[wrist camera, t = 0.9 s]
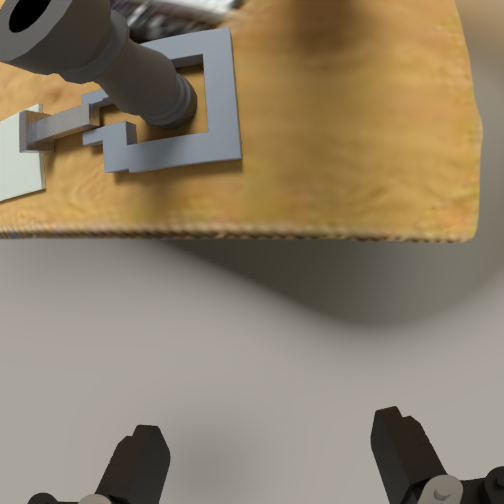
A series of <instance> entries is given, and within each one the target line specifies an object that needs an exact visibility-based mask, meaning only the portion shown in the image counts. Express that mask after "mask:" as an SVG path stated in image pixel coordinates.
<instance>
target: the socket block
mask: <svg viewBox="0 0 504 504" xmlns="http://www.w3.org/2000/svg"><path fill="white" fill-rule="evenodd" d="M139 45H142V46H145V47H148V48H150V49H153V50H156V51H158V52H161V53H162V54H164V55H165V56H166V57H168V58H169V59H170V60H171V61H172V63H173V66H174V68H180V67H185V66H191V65H197V64H204V78H205V92H206V106H207V119H208V131H209V132H205V133H197V134H190V135H183V136H177V137H171V138H165V139H159V140H153V141H148V142H142V143H137V138H136V125H135V124H132V123H130V122H127V121H123V122H119V123H115V124H111V125H107V126H103V127H102V128H98V129H94V130H91V131H87V132H84V133H83V145H86V146H97V145H101V144H103V154H104V167H105V173H117V172H122V171H128V170H129V173H141V172H147V171H153V170H159V169H166V168H173V167H180V166H187V165H195V164H203V163H212V162H221V161H230V160H240V159H242V148H241V137H240V125H239V114H238V103H237V92H236V80H235V69H234V58H233V46H232V37H231V32H230V28H221V29H214V30H207V31H200V32H194V33H188V34H183V35H178V36H173V37H168V38H163V39H159V40H155V41H151V42H147V43H143V44H139ZM86 103H91V104H93V105H96V106H99V108H101V107H104V106H108V105H111V104H114V103H113V102H112V101H111V99H110V98H109V97H108V95H107V94H106V93H105V91H104V90H103V89H102V87H101V89H100V90H97V91H94V92H90V93H87V94H84V95H82V105H83V104H86Z"/></svg>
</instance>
